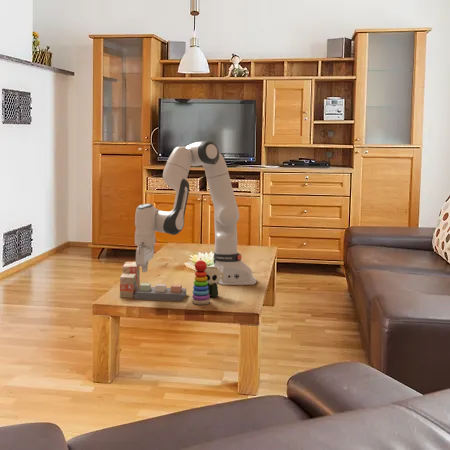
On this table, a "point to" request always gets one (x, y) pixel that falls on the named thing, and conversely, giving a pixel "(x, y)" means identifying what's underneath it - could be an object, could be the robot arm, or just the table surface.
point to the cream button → (160, 288)
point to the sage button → (145, 286)
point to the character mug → (213, 279)
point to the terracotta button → (176, 288)
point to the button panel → (160, 295)
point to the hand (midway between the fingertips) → (144, 271)
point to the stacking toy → (200, 285)
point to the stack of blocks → (129, 279)
